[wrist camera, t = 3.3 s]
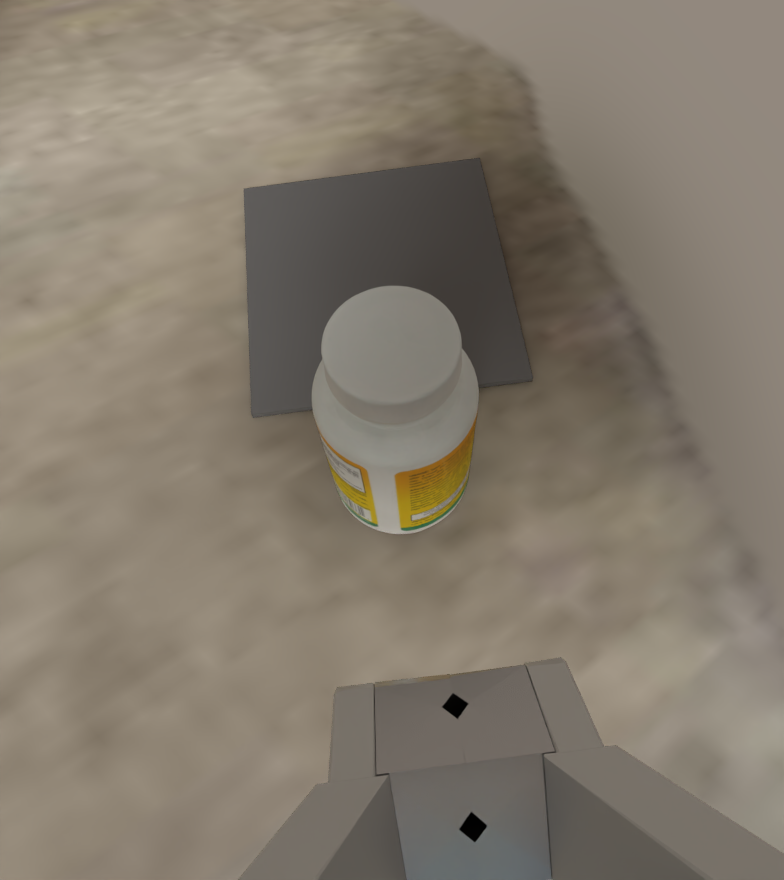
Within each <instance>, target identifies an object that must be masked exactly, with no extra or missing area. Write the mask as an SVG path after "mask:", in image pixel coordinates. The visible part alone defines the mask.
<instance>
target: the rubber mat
mask: <svg viewBox="0 0 784 880" xmlns="http://www.w3.org/2000/svg"><path fill="white" fill-rule="evenodd" d="M244 210H245V239H246V269H247V299H248V328H249V358H250V388H251V415H252V417H253V418H254V417H262V416H269V415H277V414H284V413H292V412H300V411H307V410H313V409H312V386H313V381H314V377H315V374H316V371H317V369H318V366H319V364H320V362H321V361H322V354H321V343H322V337H323V333H324V330H325V327H326V325H327V323H328V321H329V320H330V318H331V316H332V315H333V314H334V312H335V311H336V310H337V309H338V308H339V307H340V306H341V305H342V304H343V303H344V302H346V301H347V300H348V299H350V298H351V297H353V296H355V295H357V294H359V293H361V292H364V291H366V290H369V289H373V288H376V287H381V286H406V287H411V288H415V289H418V290H421V291H424V292H426V293H428V294H430V295H432V296H434V297H435V298H437V299H438V300H439V301H441V302H442V303H443V304H444V305H445V306H446V307H447V308H448V309H449V310H450V312H451V313H452V314H453V316H454V318H455V320H456V322H457V324H458V327H459V330H460V333H461V339H462V349H463V350H464V351H465V353H466V354H467V356H468V358H469V359H470V361H471V363H472V365H473V367H474V370H475V373H476V376H477V381H478V387H479V388H482V387H489V386H497V385H505V384H512V383H520V382H527V381H532V379H533V376H532V372H531V368H530V364H529V359H528V355H527V351H526V347H525V343H524V339H523V335H522V331H521V326H520V322H519V318H518V314H517V310H516V306H515V302H514V298H513V294H512V289H511V285H510V281H509V277H508V273H507V269H506V265H505V261H504V256H503V252H502V248H501V244H500V240H499V236H498V232H497V228H496V224H495V219H494V215H493V211H492V207H491V203H490V199H489V195H488V191H487V186H486V182H485V178H484V174H483V170H482V166H481V162H480V158H475V159H467V160H459V161H452V162H444V163H437V164H429V165H421V166H414V167H406V168H399V169H391V170H383V171H376V172H368V173H360V174H353V175H345V176H338V177H330V178H322V179H315V180H307V181H300V182H292V183H284V184H277V185H269V186H261V187H254V188H246V189H244Z"/></svg>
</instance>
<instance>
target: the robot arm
mask: <svg viewBox="0 0 784 880" xmlns="http://www.w3.org/2000/svg"><path fill="white" fill-rule="evenodd" d="M552 879H553V880H784V854H783V853H782V852H780V851H779V850H777V849H776V848H774V847H773V846H771V845H769V844H768V843H766V842H765V841H763V840H762V839H760V838H759V837H757V836H756V835H754V834H752V833H751V832H749V831H748V830H746V829H745V828H743V827H742V826H740V825H739V824H737V823H735V822H734V821H732V820H731V819H729V818H728V817H726V816H725V815H723V814H722V813H720V812H719V811H717V810H715V809H714V808H712V807H711V806H709V805H708V804H706V803H705V802H703V801H702V800H700V799H698V798H697V797H695V796H694V795H692V794H691V793H689V792H688V791H686V790H685V789H683V788H681V787H680V786H678V785H677V784H675V783H674V782H672V781H671V780H669V779H668V778H666V777H664V776H663V775H661V774H660V773H658V772H657V771H655V770H654V769H652V768H651V767H649V766H647V765H646V764H644V763H643V762H641V761H640V760H638V759H637V758H635V757H634V756H632V755H630V754H629V753H627V752H626V751H624V750H623V749H621V748H620V747H618V746H616V745H614V746H605V747H604V745H603V743H602V741H601V738H600V736H599V734H598V732H597V730H596V727H595V725H594V723H593V721H592V718H591V716H590V714H589V712H588V709H587V707H586V705H585V703H584V701H583V698H582V696H581V694H580V692H579V689H578V687H577V685H576V683H575V681H574V678H573V676H572V674H571V672H570V669H569V667H568V665H567V663H566V661H565V660H564V659H562V658H561V657H560V658H554V659H547V660H541V661H535V662H529V663H524V665H517V666H510V667H503V668H495V669H488V670H481V671H473V672H466V673H459V674H451V675H450V674H447V675H438V676H428V677H419V678H410V679H401V680H392V681H382V682H375V684H373V683H367V684H359V685H351V686H343V687H337V688H336V691H335V693H334V699H333V714H332V729H331V744H330V760H329V775H328V783H323V784H317V785H315V787H314V788H313V789H312V790H311V791H310V793H309V794H308V795H307V796H306V797H305V799H304V800H303V801H302V802H301V804H300V805H299V806H298V807H297V808H296V810H295V811H294V812H293V813H292V815H291V816H290V817H289V818H288V819H287V821H286V822H285V823H284V824H283V825H282V827H281V828H280V829H279V830H278V832H277V833H276V834H275V835H274V836H273V838H272V839H271V840H270V841H269V843H268V844H267V845H266V846H265V847H264V849H263V850H262V851H261V852H260V853H259V855H258V856H257V857H256V858H255V860H254V861H253V862H252V863H251V864H250V866H249V867H248V868H247V869H246V871H245V872H244V873H243V874H242V875H241V877H240V878H239V879H238V880H552Z"/></svg>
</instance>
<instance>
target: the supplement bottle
mask: <svg viewBox="0 0 784 880" xmlns="http://www.w3.org/2000/svg"><path fill="white" fill-rule="evenodd" d="M321 354H322V361H321V362H320V364H319V366H318V369H317V371H316V374H315V377H314V381H313V386H312V409H313V414H314V418H315V421H316V425H317V428H318V431H319V434H320V438H321V441H322V445H323V447H324V450H325V453H326V456H327V460H328V463H329V466H330V469H331V473H332V476H333V479H334V483H335V486H336V488H337V491H338V493H339V496H340V498H341V500H342V502H343V503H344V505H345V506H346V508H347V509H348V510H349V511H350V513H351V514H352V515H353V516H355V517H356V518H357V519H358V520H359V521H360V522H362V523H363V524H365V525H367V526H369V527H371V528H373V529H376V530H379V531H382V532H386V533H392V534H409V533H416V532H419V531H422V530H424V529H427V528H429V527H431V526H433V525H435V524H437V523H438V522H440V521H441V520H443V519H444V518H445V517H447V516H448V515H449V514H450V513H451V512H452V511H453V510H454V509H455V507H456V506H457V505H458V503H459V502H460V500H461V498H462V496H463V494H464V492H465V489H466V485H467V481H468V477H469V470H470V463H471V455H472V447H473V439H474V431H475V424H476V418H477V411H478V403H479V387H478V381H477V376H476V373H475V370H474V367H473V365H472V363H471V361H470V359H469V358H468V356H467V354H466V353H465V351H464V350H463V349H462V339H461V333H460V330H459V327H458V324H457V322H456V320H455V318H454V316H453V314H452V313H451V312H450V310H449V309H448V308H447V307H446V306H445V305H444V304H443V303H442V302H441V301H439V300H438V299H437V298H435V297H434V296H432V295H430V294H428V293H426V292H424V291H421V290H418V289H415V288H411V287H406V286H381V287H376V288H373V289H369V290H366V291H364V292H361V293H359V294H357V295H355V296H353V297H351V298H350V299H348V300H347V301H346V302H344V303H343V304H342V305H341V306H340V307H339V308H338V309H337V310H336V311H335V312H334V314H333V315H332V316H331V318H330V320H329V321H328V323H327V325H326V327H325V330H324V333H323V337H322V343H321Z"/></svg>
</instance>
